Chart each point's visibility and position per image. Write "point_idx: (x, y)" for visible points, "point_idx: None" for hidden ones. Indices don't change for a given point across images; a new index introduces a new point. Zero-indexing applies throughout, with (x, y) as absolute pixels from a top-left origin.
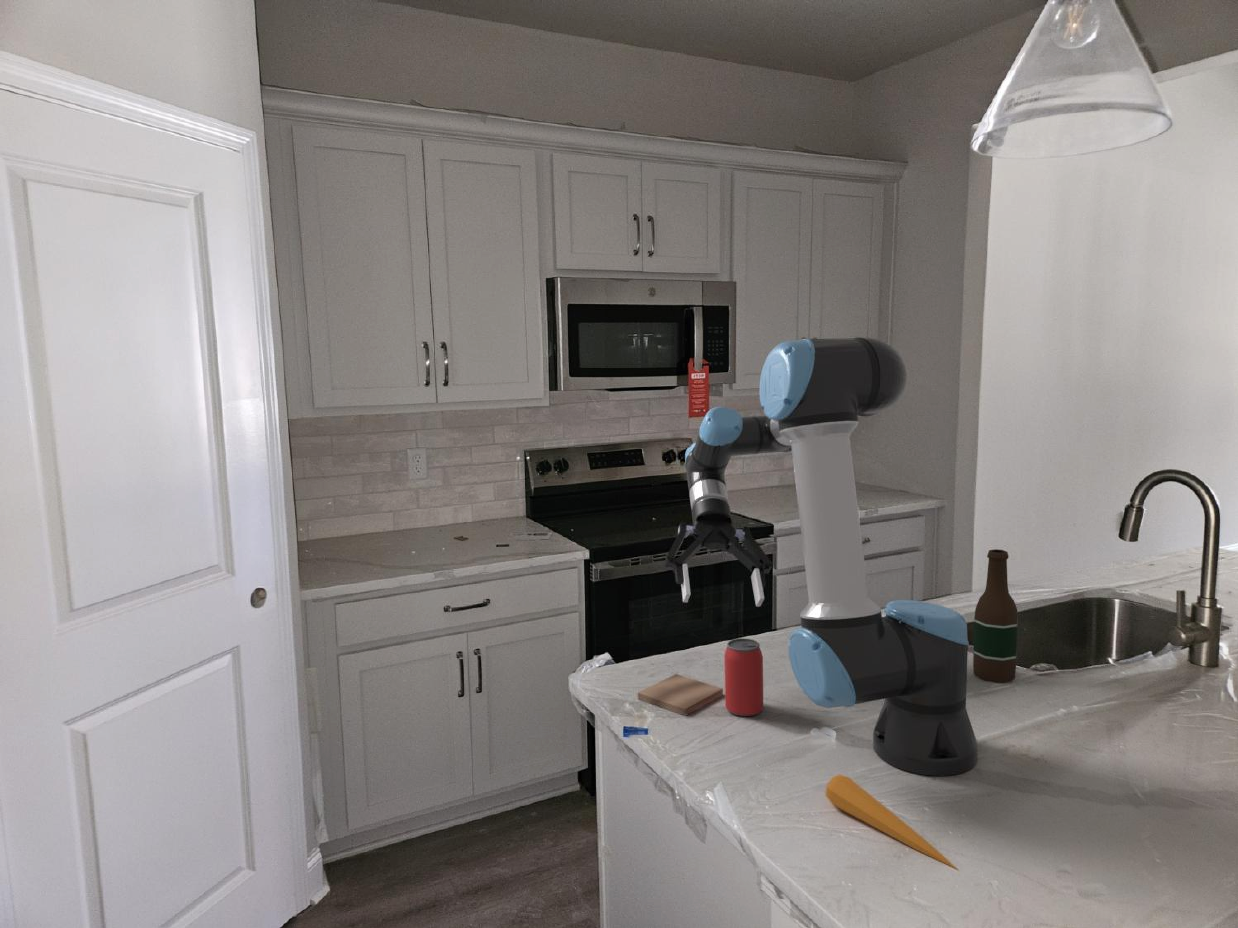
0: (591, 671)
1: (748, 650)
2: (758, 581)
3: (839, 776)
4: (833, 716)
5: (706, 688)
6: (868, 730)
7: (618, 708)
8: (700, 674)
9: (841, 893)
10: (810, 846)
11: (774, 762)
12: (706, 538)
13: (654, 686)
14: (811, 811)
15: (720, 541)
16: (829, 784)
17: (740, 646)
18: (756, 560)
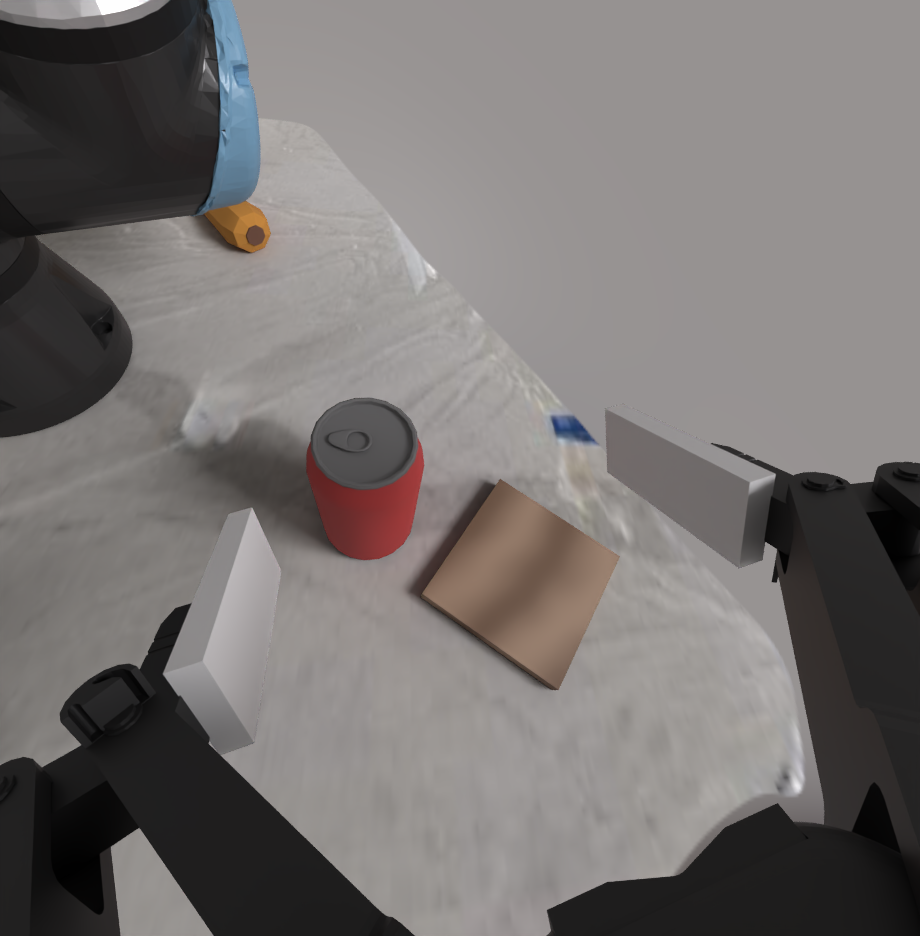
0: (786, 730)
1: (352, 399)
2: (221, 576)
3: (241, 212)
4: (159, 492)
5: (463, 592)
6: (102, 432)
7: (635, 513)
8: (491, 743)
9: (296, 141)
10: (313, 189)
11: (330, 333)
12: (890, 869)
13: (592, 594)
14: (297, 235)
15: (639, 923)
16: (261, 215)
17: (375, 437)
18: (135, 774)
